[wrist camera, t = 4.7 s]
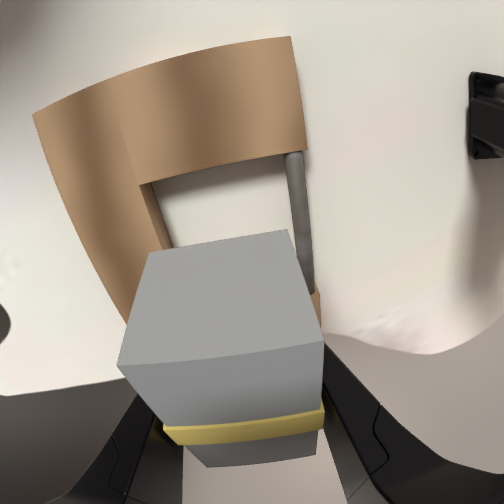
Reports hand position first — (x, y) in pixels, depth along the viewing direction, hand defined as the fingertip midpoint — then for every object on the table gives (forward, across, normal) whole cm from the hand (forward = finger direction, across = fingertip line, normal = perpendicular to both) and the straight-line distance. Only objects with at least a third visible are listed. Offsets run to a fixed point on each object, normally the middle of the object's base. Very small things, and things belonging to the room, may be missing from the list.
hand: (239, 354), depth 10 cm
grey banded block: (+1, 0, 0) cm, 1 cm away
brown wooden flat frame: (+11, +2, +2) cm, 11 cm away
